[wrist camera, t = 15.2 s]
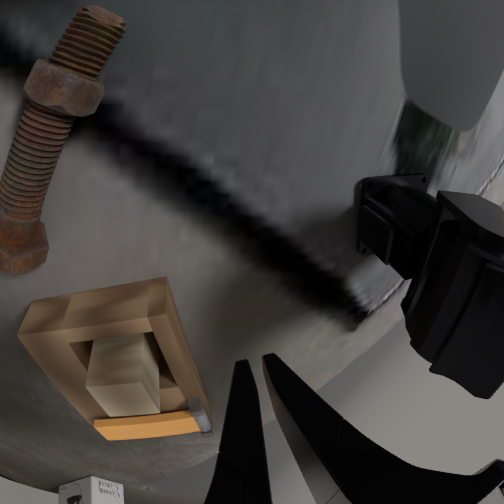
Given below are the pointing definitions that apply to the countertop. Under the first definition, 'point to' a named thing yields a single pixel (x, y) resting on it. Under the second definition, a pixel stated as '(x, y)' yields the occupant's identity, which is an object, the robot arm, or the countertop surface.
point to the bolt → (50, 131)
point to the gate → (152, 425)
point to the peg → (125, 374)
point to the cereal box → (91, 492)
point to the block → (106, 326)
